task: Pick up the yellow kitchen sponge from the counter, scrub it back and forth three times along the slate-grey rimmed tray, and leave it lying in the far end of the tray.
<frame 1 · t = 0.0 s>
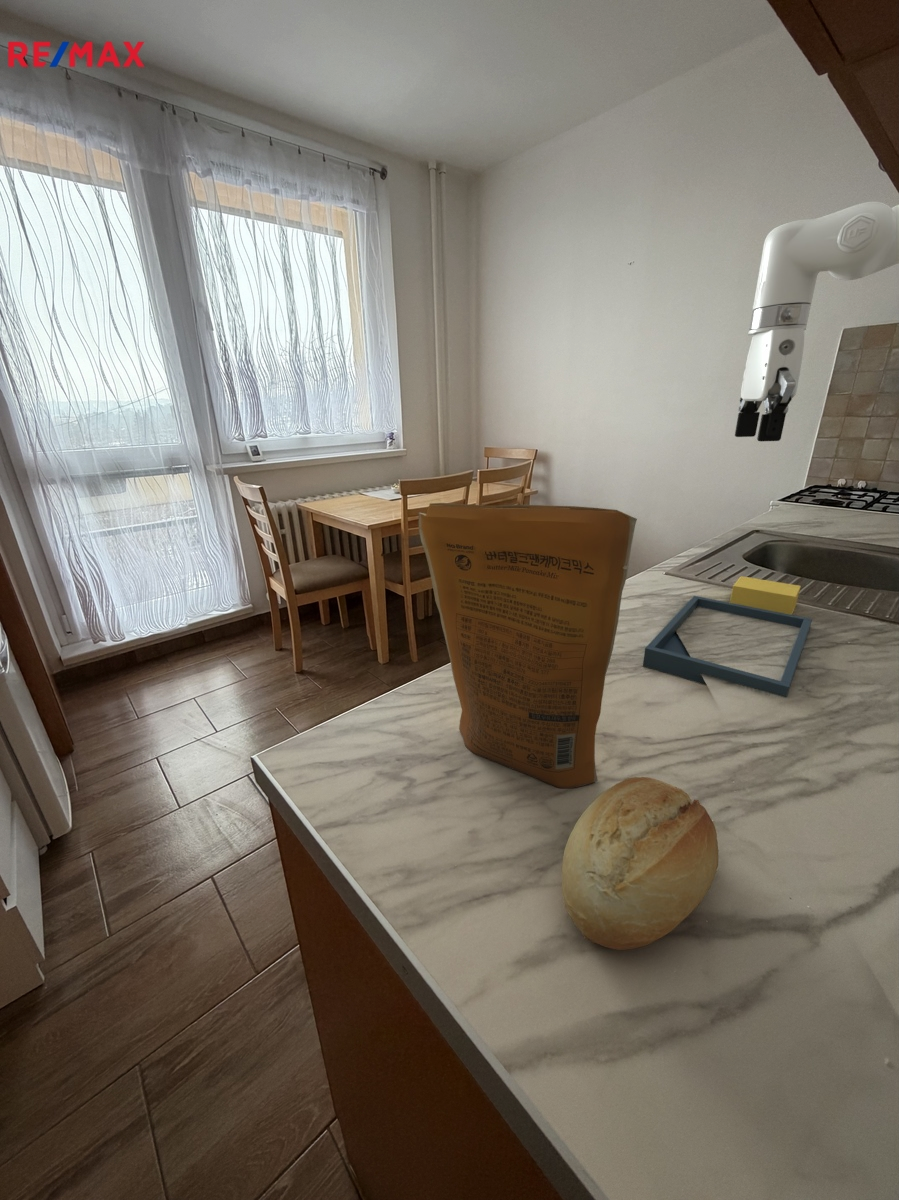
hand: (755, 438, 81), 28 cm above the countertop, tool pointing down, fingers open, 9 cm apart
pancake mix bag: (518, 761, 52), on the countertop
tray: (728, 650, 72), on the countertop
bread roll: (637, 884, 38), on the countertop
sponge: (760, 612, 84), on the countertop
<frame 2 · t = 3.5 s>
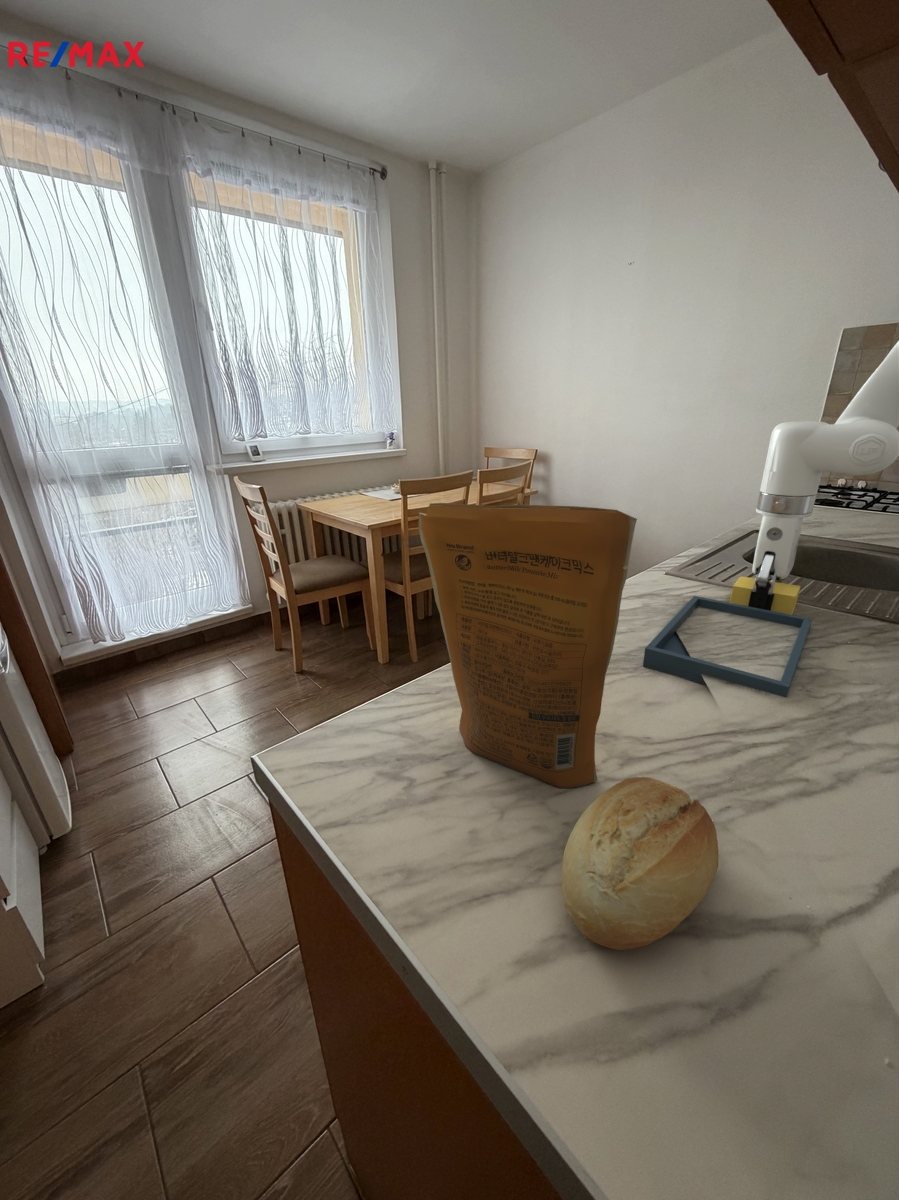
hand: (761, 606, 84), 1 cm above the countertop, tool pointing down, fingers closed on sponge, 6 cm apart
sponge: (760, 612, 84), on the countertop, touching gripper
everything else where it was.
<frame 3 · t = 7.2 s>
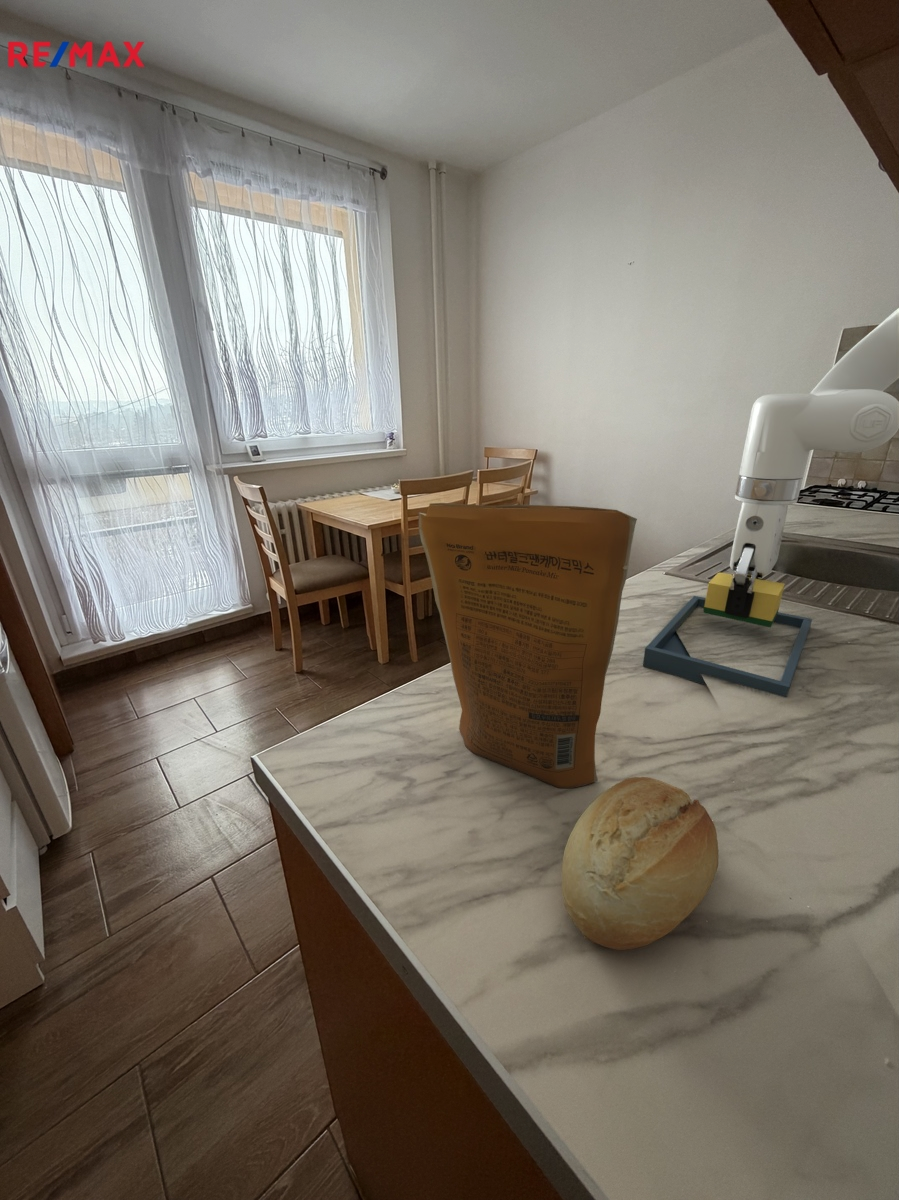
hand: (741, 607, 74), 5 cm above the countertop, tool pointing down, fingers closed on sponge, 6 cm apart
sponge: (739, 613, 74), point 4 cm above the countertop, touching gripper
everything else where it was.
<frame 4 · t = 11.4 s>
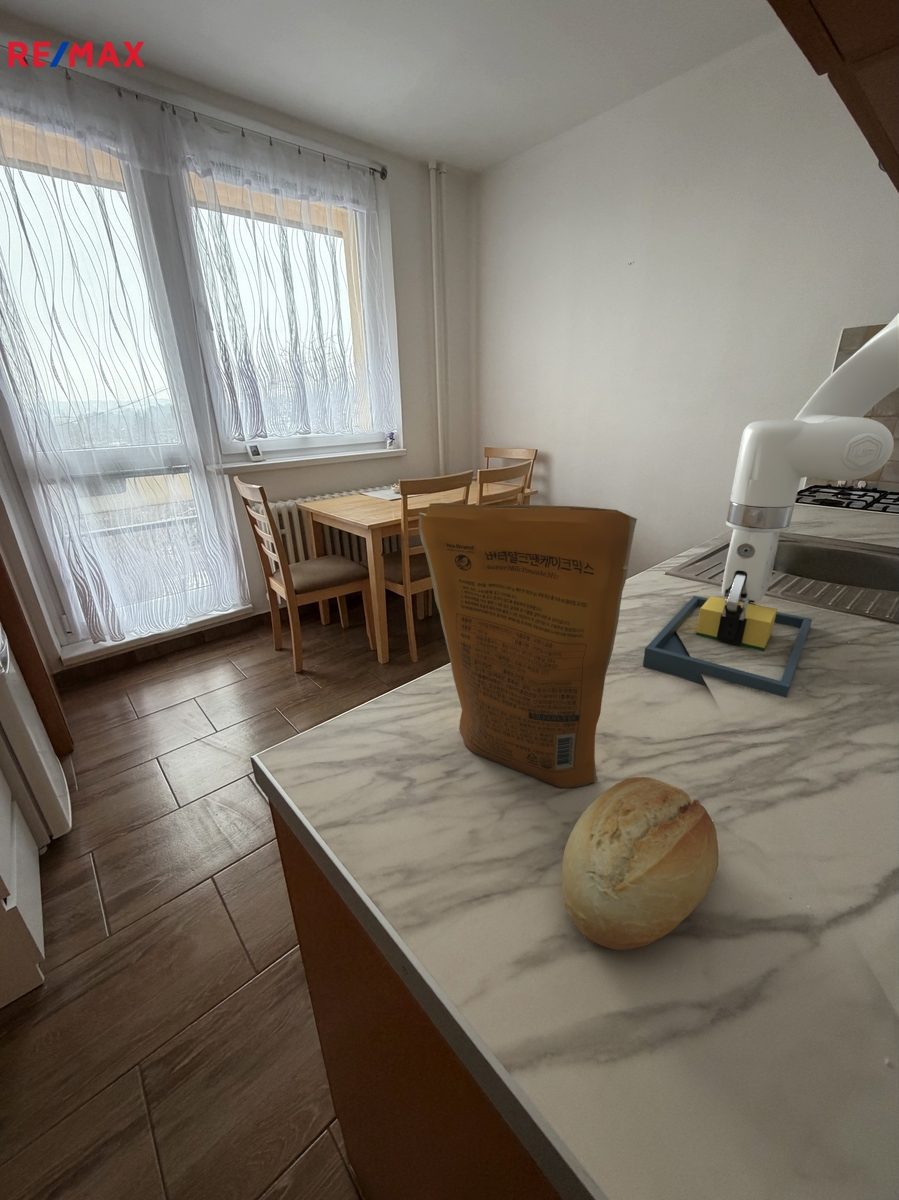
hand: (734, 632, 73), 2 cm above the countertop, tool pointing down, fingers closed on sponge, 6 cm apart
sponge: (732, 638, 73), point 1 cm above the countertop, touching gripper
everything else where it was.
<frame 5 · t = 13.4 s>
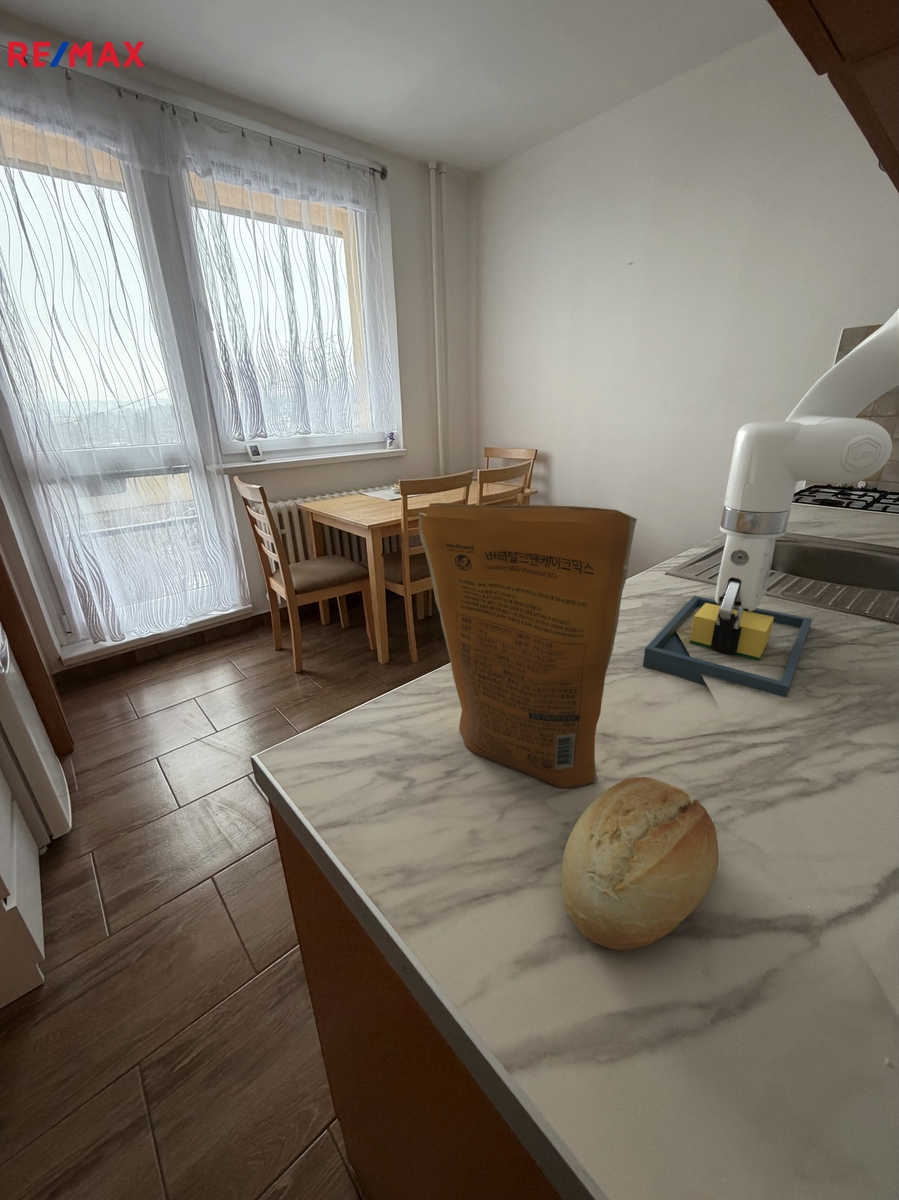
hand: (729, 640, 71), 2 cm above the countertop, tool pointing down, fingers closed on sponge, 6 cm apart
sponge: (727, 647, 71), point 1 cm above the countertop, touching gripper
everything else where it was.
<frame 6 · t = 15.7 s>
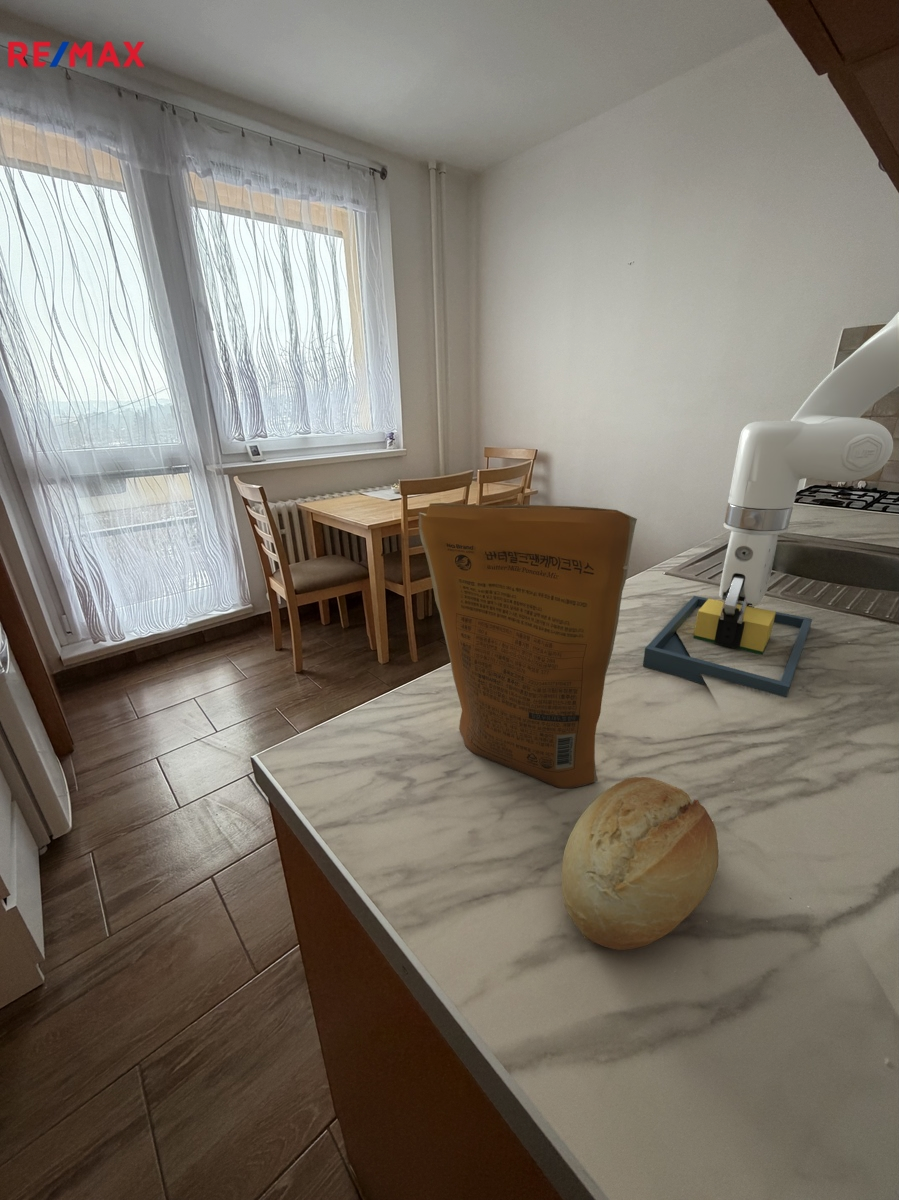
hand: (732, 635, 72), 2 cm above the countertop, tool pointing down, fingers closed on sponge, 6 cm apart
sponge: (730, 641, 73), point 1 cm above the countertop, touching gripper
everything else where it was.
when the fingers open (2 cm above the countertop, at t = 19.3 s): sponge stays where it is, resting on tray.
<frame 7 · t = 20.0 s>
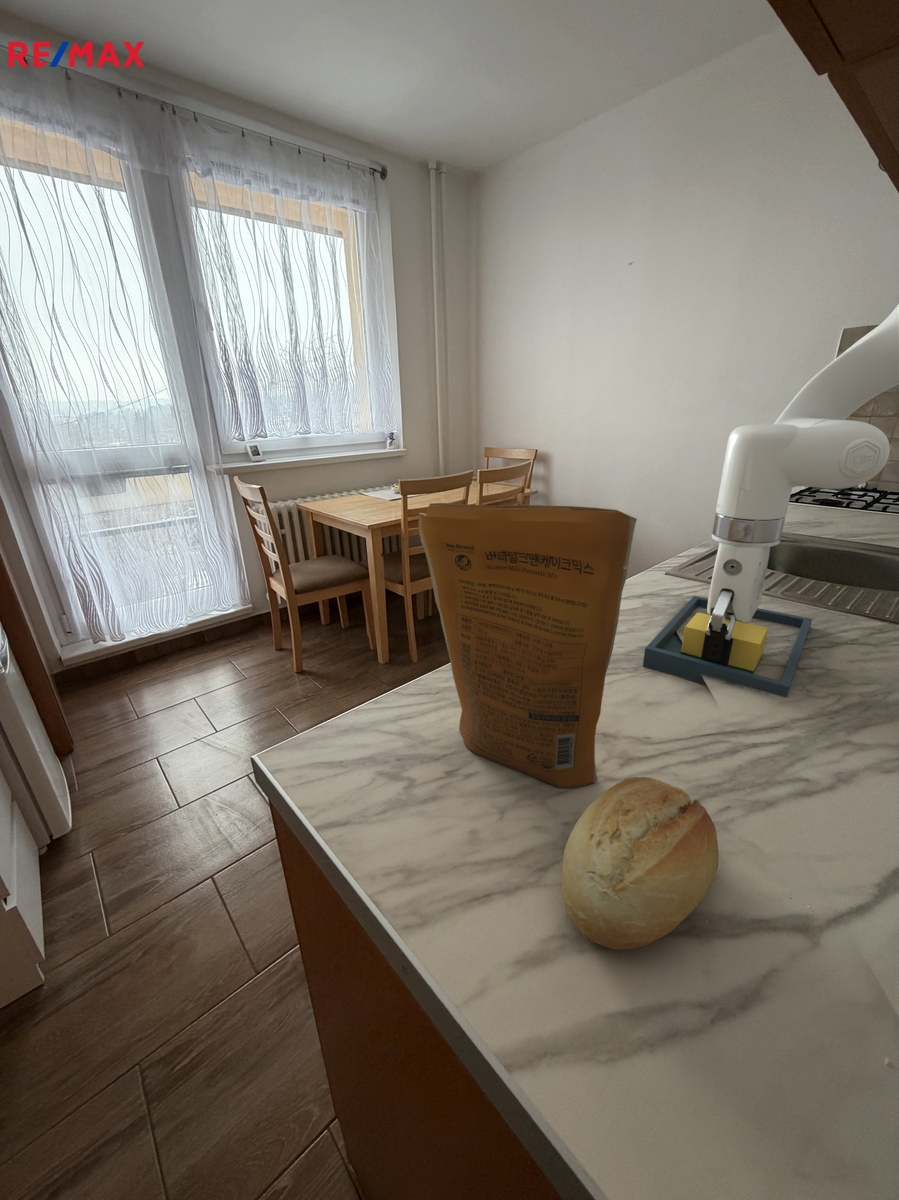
hand: (723, 648, 67), 3 cm above the countertop, tool pointing down, fingers open, 9 cm apart
sponge: (720, 659, 68), point 1 cm above the countertop, touching tray
everything else where it was.
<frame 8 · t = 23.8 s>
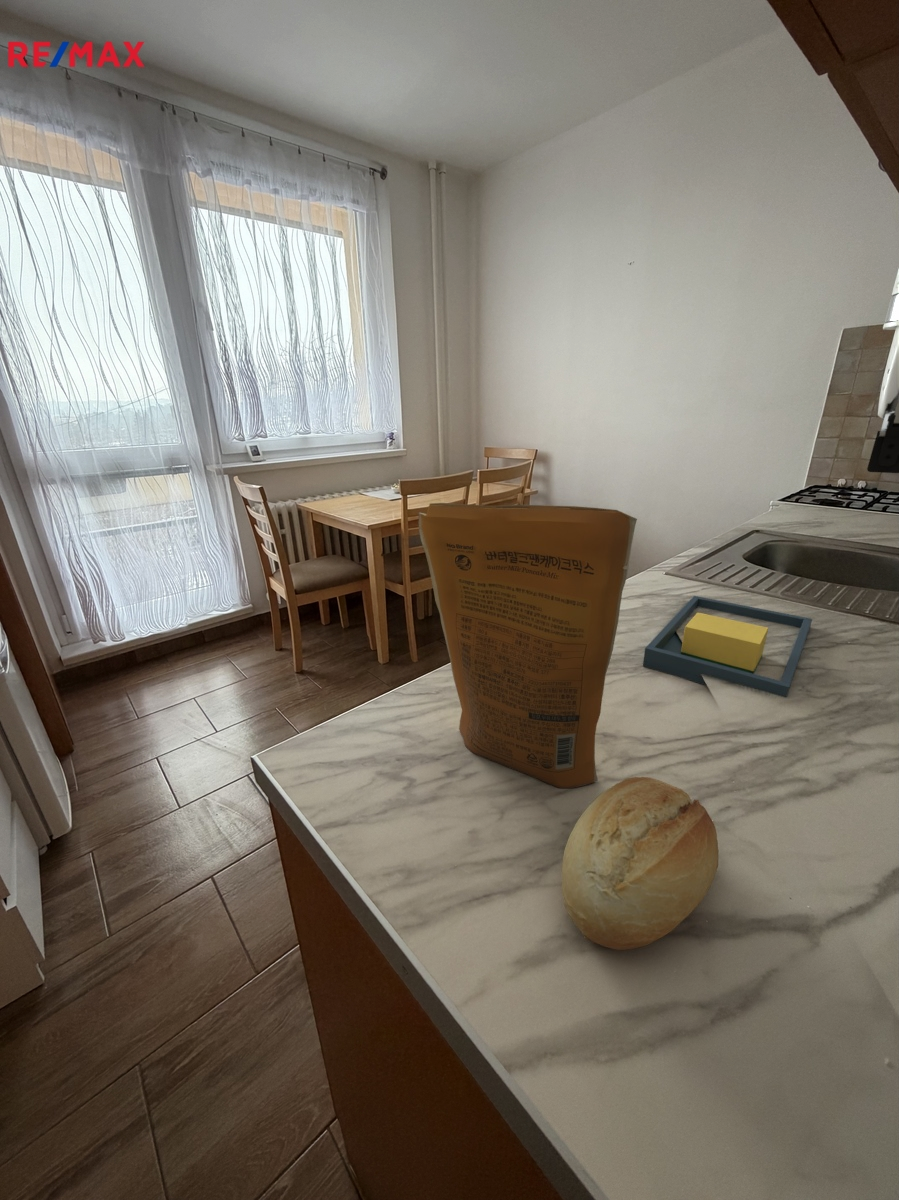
hand: (884, 467, 61), 26 cm above the countertop, tool pointing down, fingers open, 9 cm apart
nothing on the countertop moved.
at the end: sponge inside the target area in the tray (0.4 cm from its centre), point 1.0 cm above the tray's base; sponge touching tray; sponge moved 23.5 cm from its start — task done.
